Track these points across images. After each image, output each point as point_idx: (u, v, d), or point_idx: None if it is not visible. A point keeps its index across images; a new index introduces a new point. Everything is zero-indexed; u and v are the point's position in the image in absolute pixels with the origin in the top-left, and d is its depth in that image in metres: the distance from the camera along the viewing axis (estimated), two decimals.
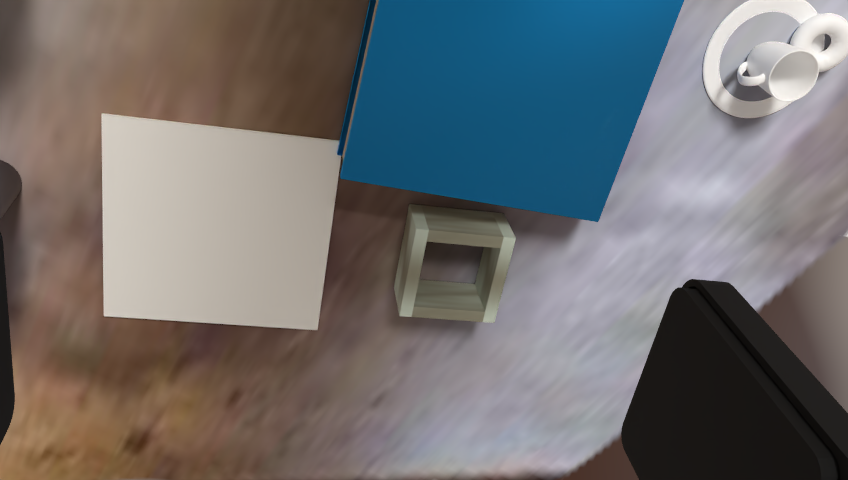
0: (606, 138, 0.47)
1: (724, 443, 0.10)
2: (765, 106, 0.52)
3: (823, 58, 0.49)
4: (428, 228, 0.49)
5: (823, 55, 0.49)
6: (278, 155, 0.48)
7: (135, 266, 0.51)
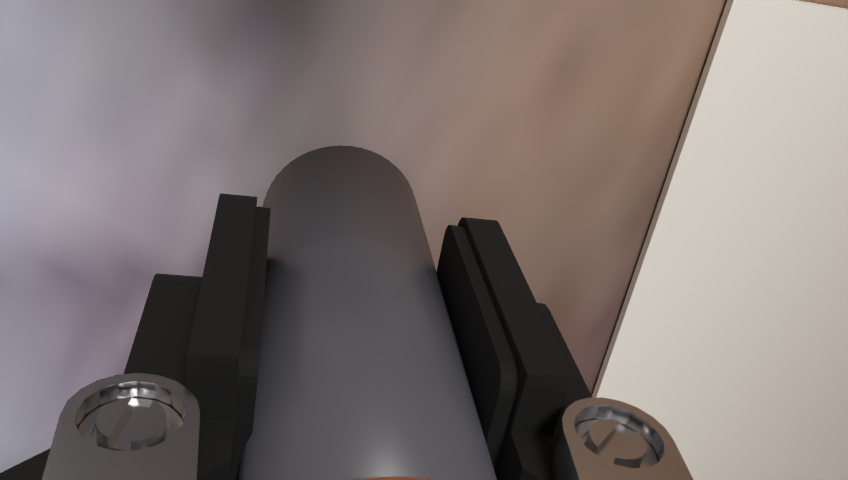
0: None
1: None
2: None
3: None
4: None
5: None
6: None
7: None
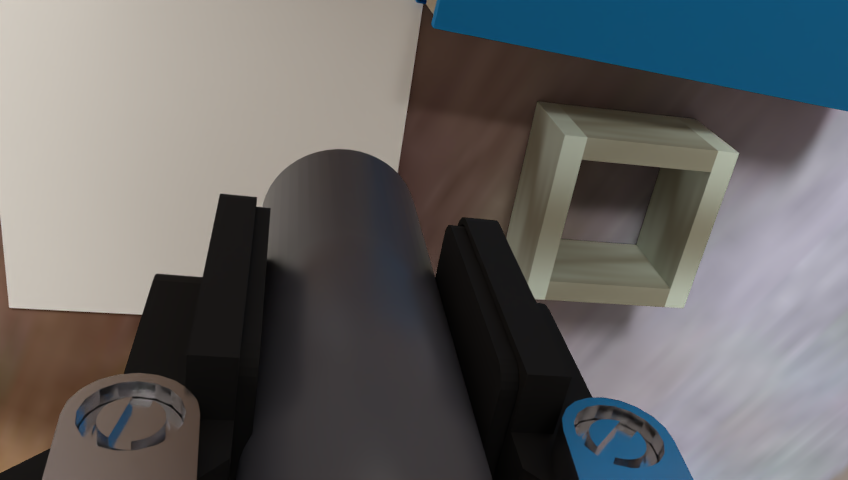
0: None
1: (460, 365, 0.10)
2: None
3: None
4: (585, 135, 0.27)
5: None
6: (309, 6, 0.26)
7: (58, 218, 0.29)
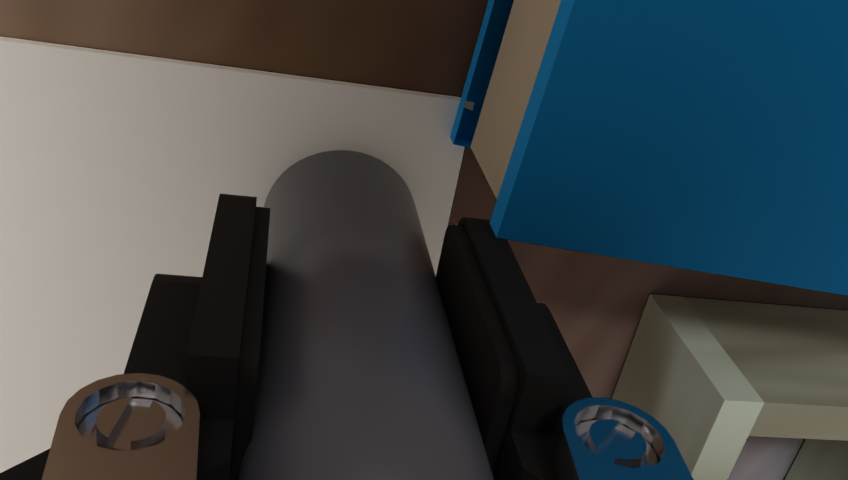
0: None
1: (461, 365, 0.10)
2: None
3: None
4: (759, 395, 0.14)
5: None
6: (255, 148, 0.14)
7: None
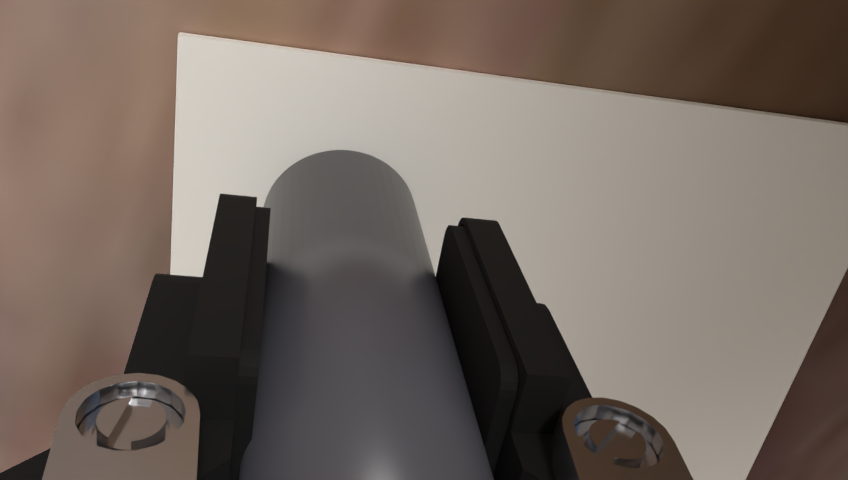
0: None
1: None
2: None
3: None
4: None
5: None
6: (716, 177, 0.16)
7: None
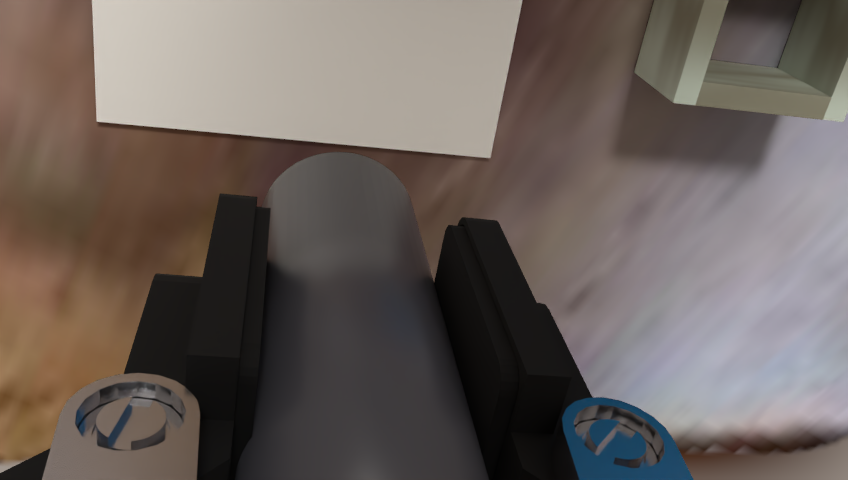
0: None
1: (461, 365, 0.10)
2: None
3: None
4: None
5: None
6: None
7: (155, 11, 0.26)
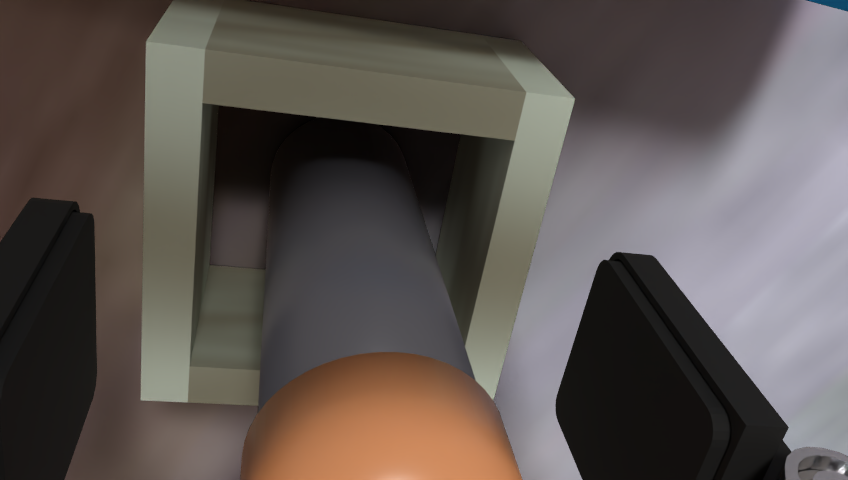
0: None
1: (637, 406, 0.10)
2: None
3: None
4: (206, 46, 0.11)
5: None
6: None
7: None
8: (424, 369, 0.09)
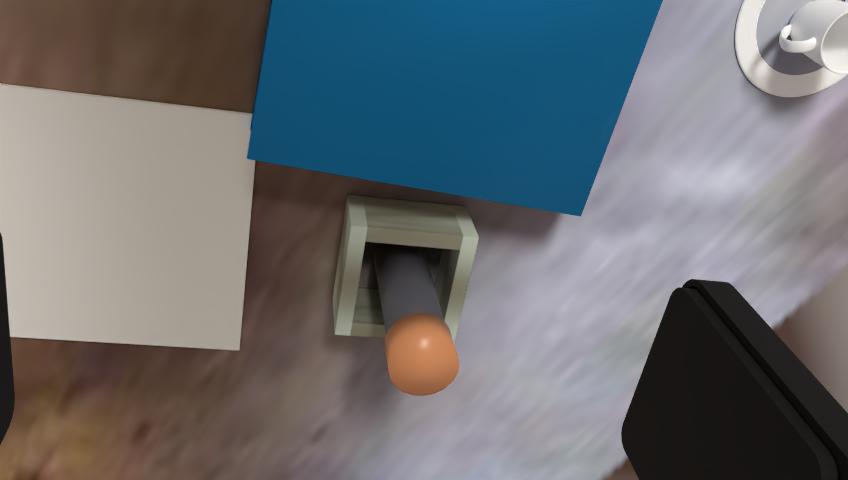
0: (590, 109, 0.37)
1: (724, 443, 0.10)
2: (809, 83, 0.42)
3: None
4: (367, 225, 0.38)
5: None
6: (177, 132, 0.38)
7: None
8: (430, 316, 0.36)
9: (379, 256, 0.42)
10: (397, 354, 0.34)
